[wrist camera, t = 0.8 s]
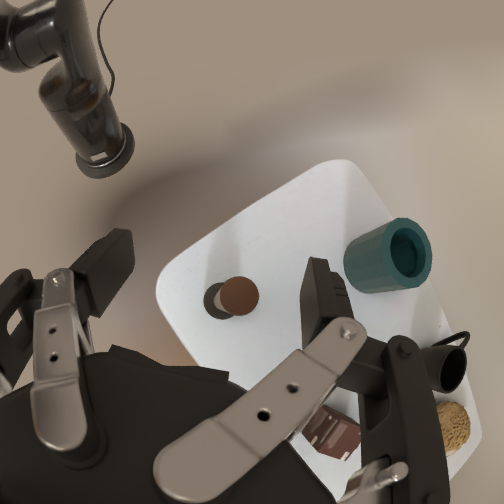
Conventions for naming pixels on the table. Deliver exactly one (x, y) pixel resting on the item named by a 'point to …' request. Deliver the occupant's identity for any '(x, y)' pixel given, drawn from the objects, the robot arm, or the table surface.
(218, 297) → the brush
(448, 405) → the sponge
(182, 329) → the table surface
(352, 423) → the box
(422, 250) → the jar
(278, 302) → the table surface
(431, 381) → the mug
